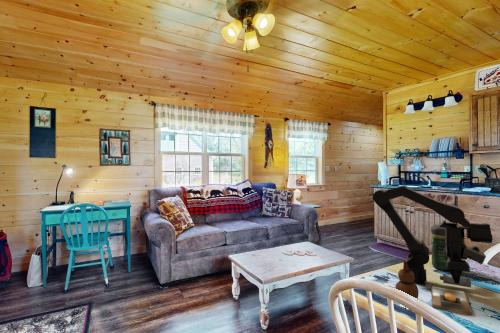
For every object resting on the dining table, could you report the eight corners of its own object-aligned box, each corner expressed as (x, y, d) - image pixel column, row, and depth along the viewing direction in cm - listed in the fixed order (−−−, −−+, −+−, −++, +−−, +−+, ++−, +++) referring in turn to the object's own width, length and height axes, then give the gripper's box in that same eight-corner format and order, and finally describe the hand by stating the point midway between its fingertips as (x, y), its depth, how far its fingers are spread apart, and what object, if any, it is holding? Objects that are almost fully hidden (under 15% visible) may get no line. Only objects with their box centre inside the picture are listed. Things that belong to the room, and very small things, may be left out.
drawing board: (432, 307, 87) (432, 299, 87) (430, 288, 100) (430, 282, 100) (471, 315, 82) (471, 307, 82) (465, 294, 95) (464, 287, 95)
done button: (444, 300, 87) (444, 295, 87) (444, 296, 89) (444, 291, 89) (456, 302, 85) (456, 297, 85) (455, 298, 88) (455, 294, 88)
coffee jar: (455, 272, 114) (453, 228, 114) (433, 269, 118) (431, 227, 118) (451, 264, 123) (450, 224, 123) (431, 262, 127) (429, 222, 127)
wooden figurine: (408, 310, 86) (406, 263, 86) (392, 302, 91) (391, 258, 91) (422, 305, 89) (420, 260, 89) (406, 297, 94) (404, 255, 94)
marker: (440, 283, 102) (440, 274, 102) (439, 280, 104) (439, 271, 104) (471, 289, 97) (470, 279, 97) (469, 285, 100) (469, 276, 100)
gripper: (488, 249, 88) (490, 297, 88) (478, 236, 104) (479, 276, 104) (446, 245, 94) (448, 289, 94) (443, 233, 110) (444, 271, 110)
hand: (456, 281), depth 100 cm, fingers closed on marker, 3 cm apart
